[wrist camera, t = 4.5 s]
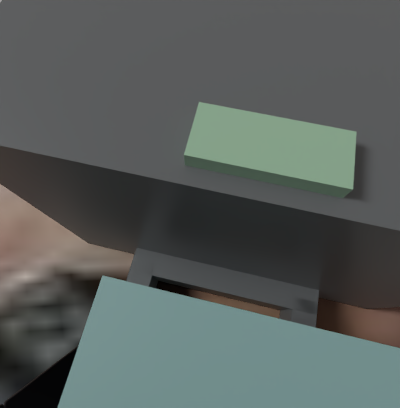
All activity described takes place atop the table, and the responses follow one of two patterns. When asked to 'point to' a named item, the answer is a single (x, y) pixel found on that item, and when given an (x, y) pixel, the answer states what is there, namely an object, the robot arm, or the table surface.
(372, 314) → the table surface
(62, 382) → the robot arm
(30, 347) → the table surface
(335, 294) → the charging dock
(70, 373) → the key block
